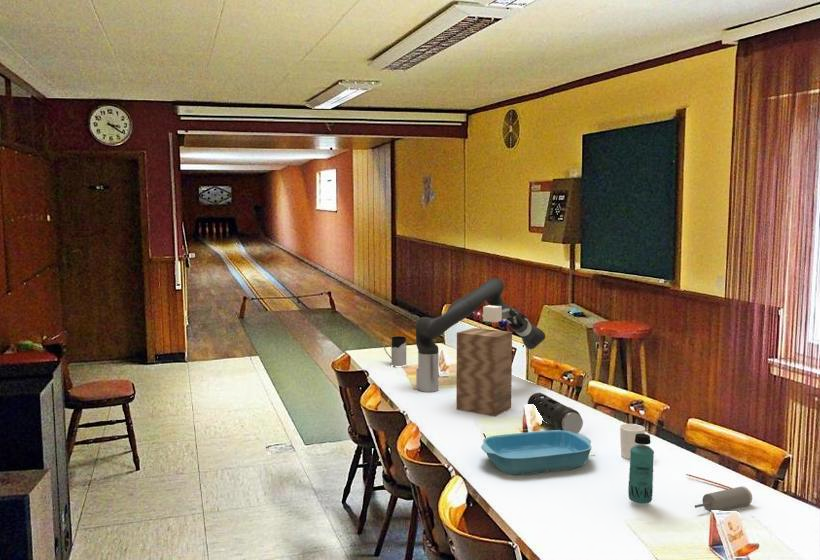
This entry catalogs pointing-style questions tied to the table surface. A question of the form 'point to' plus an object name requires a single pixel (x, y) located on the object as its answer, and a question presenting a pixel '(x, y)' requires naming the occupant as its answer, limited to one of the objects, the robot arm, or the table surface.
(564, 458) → the casserole dish
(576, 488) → the table surface
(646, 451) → the beverage bottle
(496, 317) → the plug
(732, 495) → the motor
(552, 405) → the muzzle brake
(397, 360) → the glass holder
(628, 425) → the white cup
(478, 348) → the stand
